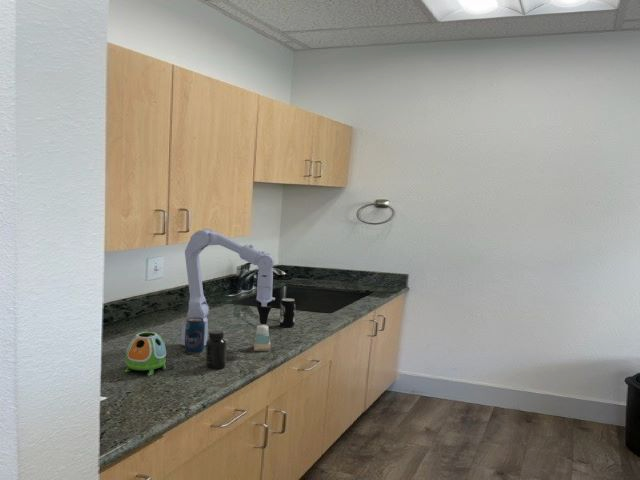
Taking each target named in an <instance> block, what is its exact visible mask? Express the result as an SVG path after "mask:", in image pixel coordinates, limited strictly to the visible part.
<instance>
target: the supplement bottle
mask: <svg viewBox="0 0 640 480" xmlns="http://www.w3.org/2000/svg"><path fill="white" fill-rule="evenodd" d="M224 334H225V333H224V331H222V330H216V329H215V330H210V331H209V333H208V338H207V342H206V346H205V367H206V368H207V369H209V370H222V369H224V368H226V366H227V341H226V339H224V337H225V336H224Z"/></svg>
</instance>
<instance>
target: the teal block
mask: <svg viewBox="0 0 640 480" xmlns="http://www.w3.org/2000/svg"><path fill="white" fill-rule="evenodd" d="M269 340H270V332H268V335H264V336H261V335H257V331H256V332H255V339H254V341H255V344H269Z"/></svg>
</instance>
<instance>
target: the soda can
mask: <svg viewBox="0 0 640 480" xmlns="http://www.w3.org/2000/svg"><path fill="white" fill-rule="evenodd" d="M185 322H186V323H185V324H186V325H185V346H184V350H185V351H186V353H188V354H194V355H195V354H201V353H202V352H203V351H204V350H205V346H204V335H205V323H204V321H203V319H202V318H189V319H188V318H187V321H185Z"/></svg>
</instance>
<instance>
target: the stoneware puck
mask: <svg viewBox="0 0 640 480" xmlns="http://www.w3.org/2000/svg"><path fill="white" fill-rule="evenodd" d="M256 332H257V335H261V336H264V335H268V333H269V325H267V324H257V325H256Z"/></svg>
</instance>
